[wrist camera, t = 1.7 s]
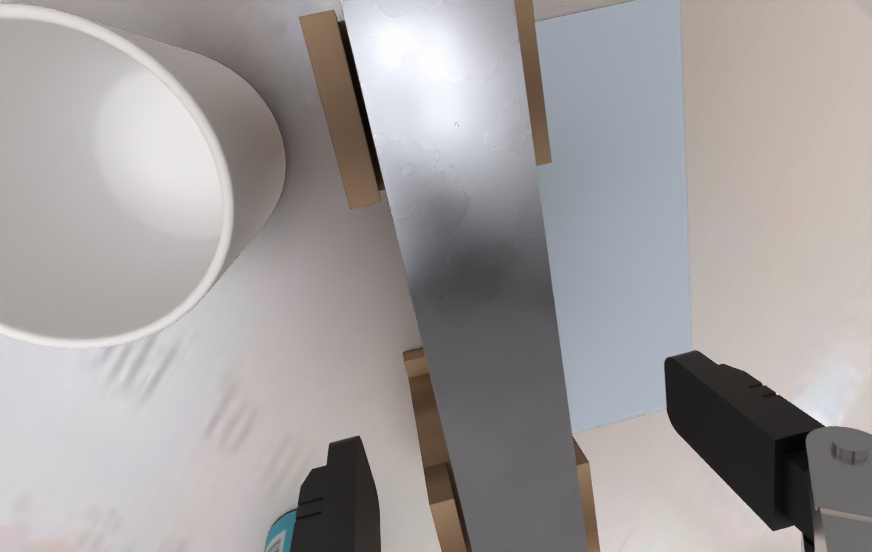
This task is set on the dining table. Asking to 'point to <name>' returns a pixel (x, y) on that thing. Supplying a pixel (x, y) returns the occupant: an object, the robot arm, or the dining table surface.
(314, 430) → the dining table surface
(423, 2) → the rail
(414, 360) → the post
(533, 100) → the post
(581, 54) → the mat
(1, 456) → the dining table surface
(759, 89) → the dining table surface
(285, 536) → the tube
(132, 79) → the mug
